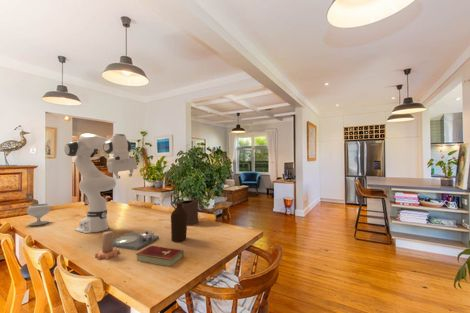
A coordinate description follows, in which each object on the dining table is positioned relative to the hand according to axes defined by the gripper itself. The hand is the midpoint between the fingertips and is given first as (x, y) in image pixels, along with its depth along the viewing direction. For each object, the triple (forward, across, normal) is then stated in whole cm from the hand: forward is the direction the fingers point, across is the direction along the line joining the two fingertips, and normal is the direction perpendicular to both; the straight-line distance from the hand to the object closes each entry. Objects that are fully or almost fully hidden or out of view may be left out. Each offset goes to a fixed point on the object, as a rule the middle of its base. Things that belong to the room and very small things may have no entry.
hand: (124, 177), depth 146 cm
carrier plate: (+41, +7, +9) cm, 42 cm away
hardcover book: (+44, +17, +41) cm, 62 cm away
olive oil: (+45, -9, +32) cm, 56 cm away
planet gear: (+39, +26, +13) cm, 49 cm away
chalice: (+30, +13, -92) cm, 98 cm away
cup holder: (+46, -42, +11) cm, 63 cm away
